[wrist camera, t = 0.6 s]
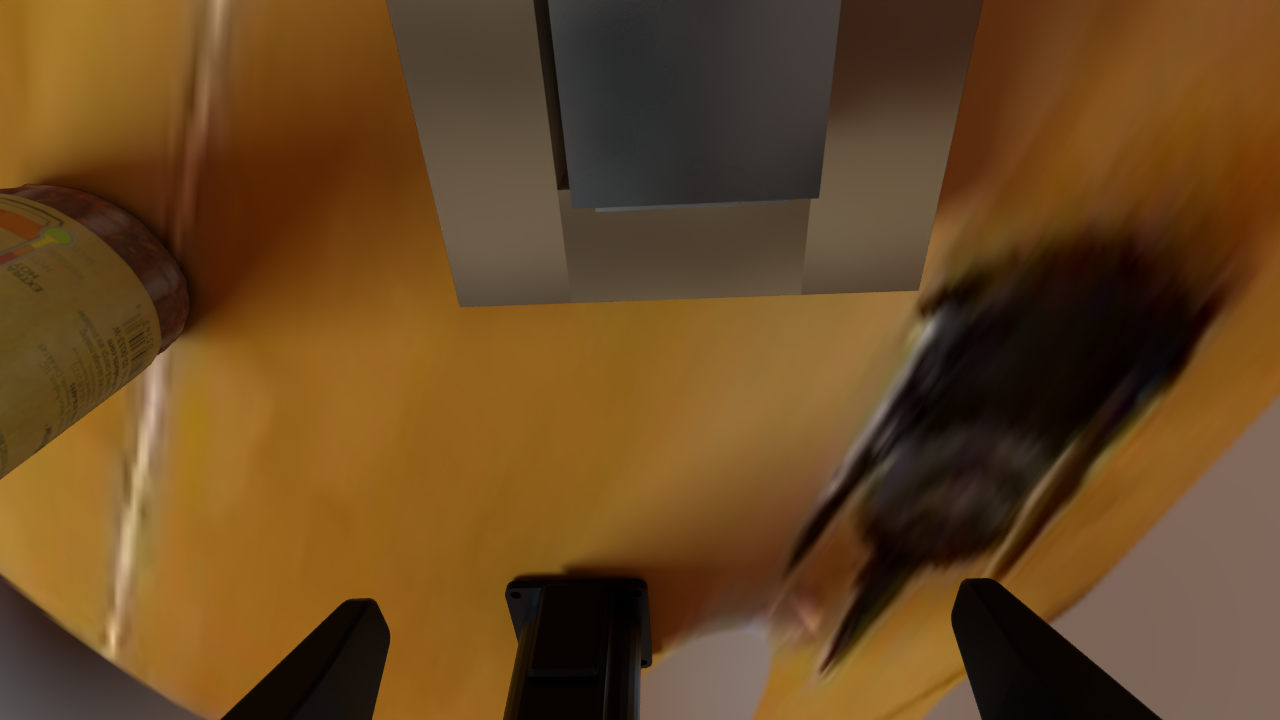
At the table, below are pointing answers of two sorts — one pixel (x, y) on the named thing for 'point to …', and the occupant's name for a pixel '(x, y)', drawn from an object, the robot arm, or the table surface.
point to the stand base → (684, 237)
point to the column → (693, 100)
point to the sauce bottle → (75, 310)
